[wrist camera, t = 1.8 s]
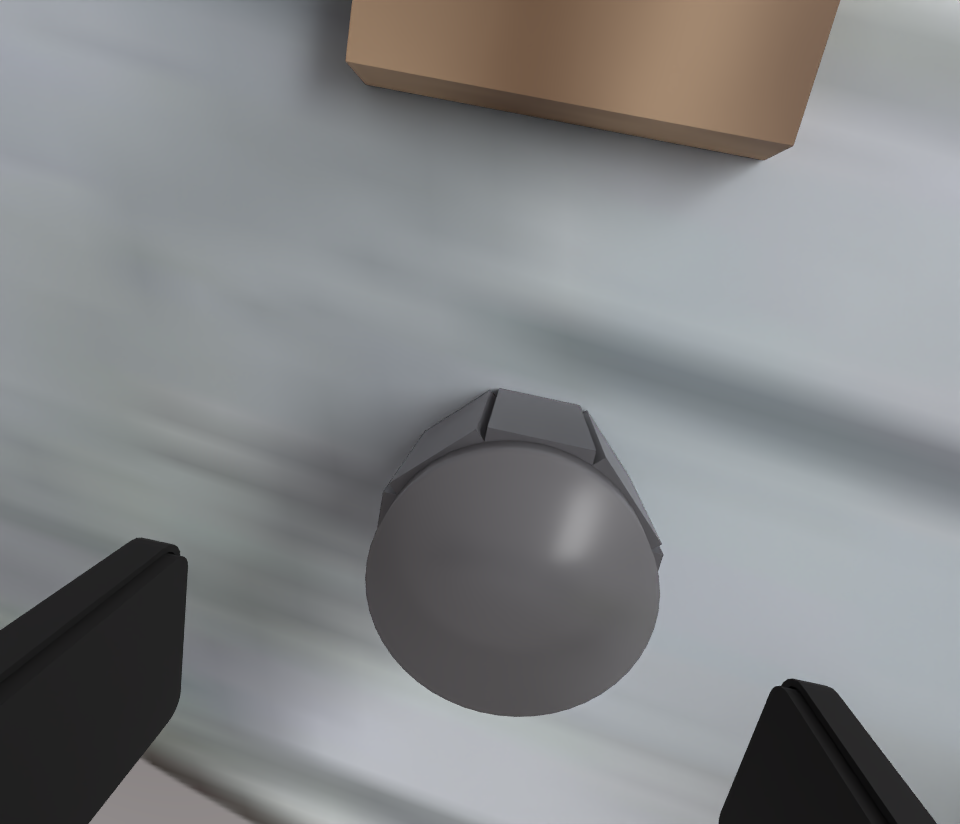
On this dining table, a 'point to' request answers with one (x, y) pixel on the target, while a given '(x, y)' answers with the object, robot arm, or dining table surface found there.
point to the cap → (514, 559)
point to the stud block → (608, 62)
